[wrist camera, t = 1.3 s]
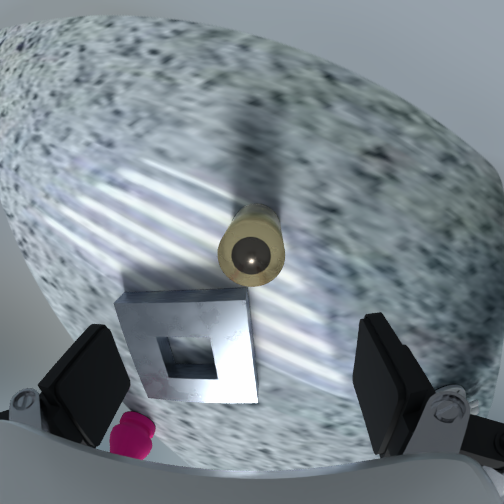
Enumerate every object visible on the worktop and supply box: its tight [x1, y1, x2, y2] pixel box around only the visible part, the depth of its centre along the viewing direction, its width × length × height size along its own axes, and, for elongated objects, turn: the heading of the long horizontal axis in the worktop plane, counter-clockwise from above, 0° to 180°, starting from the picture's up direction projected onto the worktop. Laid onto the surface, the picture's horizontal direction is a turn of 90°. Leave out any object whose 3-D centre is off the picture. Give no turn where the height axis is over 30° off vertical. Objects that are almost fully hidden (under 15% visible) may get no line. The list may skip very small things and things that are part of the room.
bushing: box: [218, 204, 285, 287], centre depth 25 cm, size 5×5×9 cm
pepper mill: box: [110, 411, 156, 460], centre depth 31 cm, size 7×7×20 cm
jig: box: [114, 287, 259, 403], centre depth 33 cm, size 15×15×3 cm
